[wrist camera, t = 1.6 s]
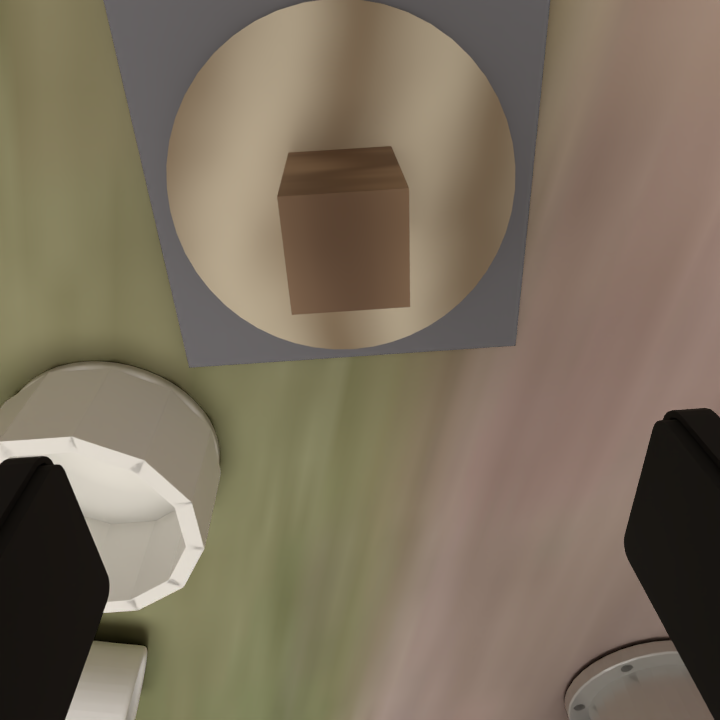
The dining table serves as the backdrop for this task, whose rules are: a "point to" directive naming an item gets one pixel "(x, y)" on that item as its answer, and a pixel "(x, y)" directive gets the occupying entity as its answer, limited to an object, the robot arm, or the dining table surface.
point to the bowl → (124, 468)
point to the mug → (109, 683)
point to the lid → (340, 174)
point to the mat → (215, 27)
